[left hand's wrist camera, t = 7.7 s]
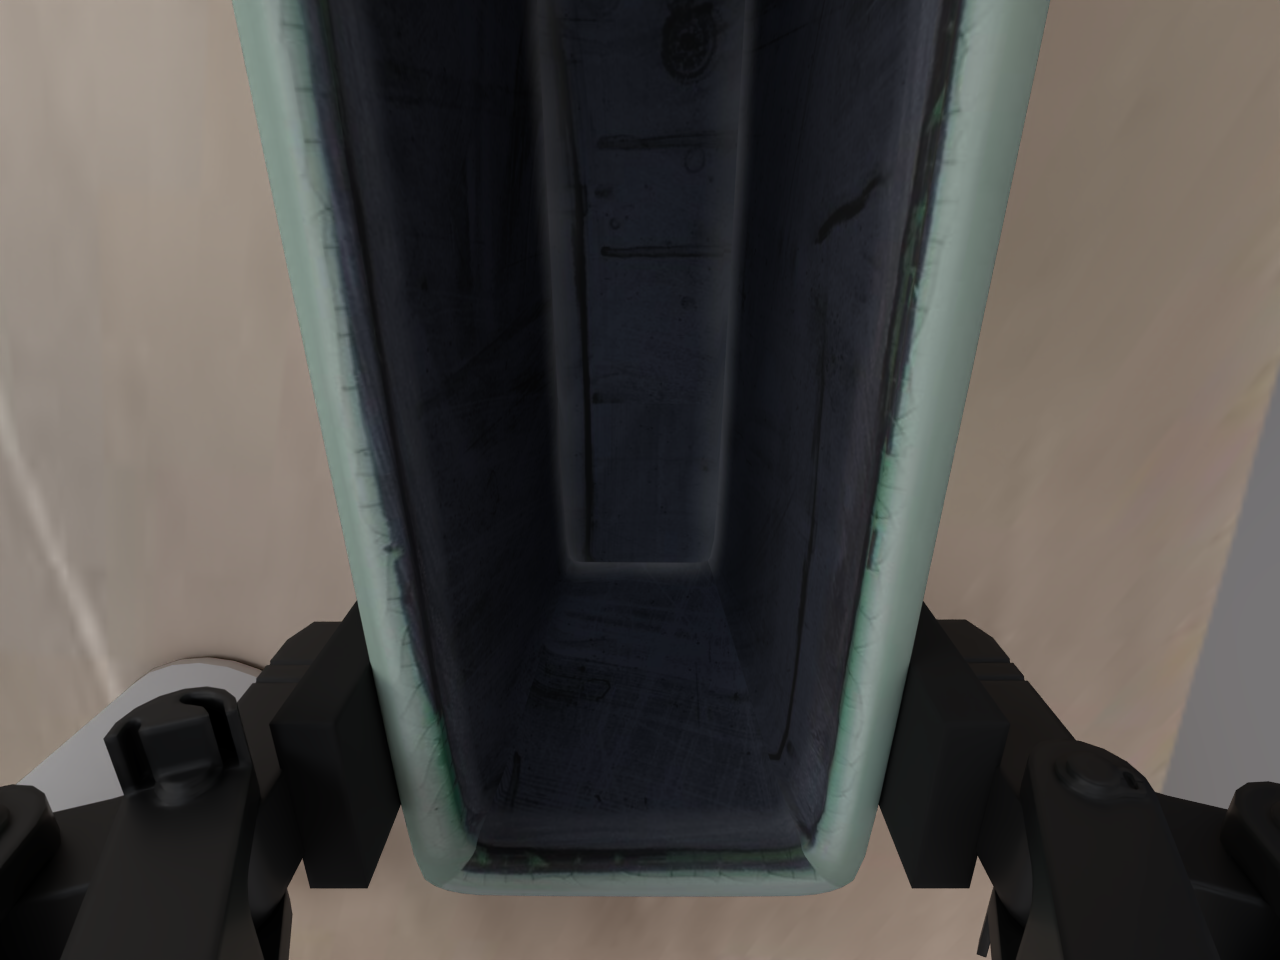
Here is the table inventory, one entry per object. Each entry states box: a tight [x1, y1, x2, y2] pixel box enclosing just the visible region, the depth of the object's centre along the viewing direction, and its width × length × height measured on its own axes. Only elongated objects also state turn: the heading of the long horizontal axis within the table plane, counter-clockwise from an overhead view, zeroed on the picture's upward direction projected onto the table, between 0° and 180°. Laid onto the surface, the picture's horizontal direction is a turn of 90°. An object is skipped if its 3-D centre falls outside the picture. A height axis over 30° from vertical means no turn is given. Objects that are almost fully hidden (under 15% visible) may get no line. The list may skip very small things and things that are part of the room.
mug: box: [16, 657, 262, 812], centre depth 24 cm, size 11×9×10 cm
